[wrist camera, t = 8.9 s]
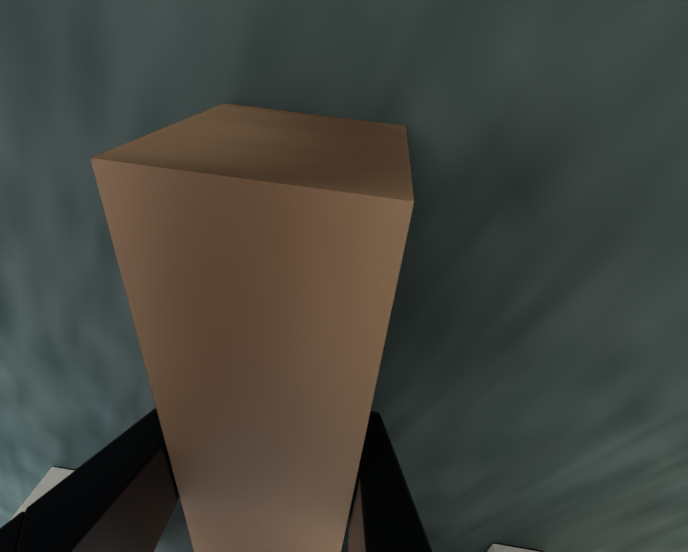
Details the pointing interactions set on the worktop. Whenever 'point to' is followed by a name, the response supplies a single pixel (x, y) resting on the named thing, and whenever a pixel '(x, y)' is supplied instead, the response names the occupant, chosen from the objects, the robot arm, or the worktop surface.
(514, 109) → the worktop surface
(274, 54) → the worktop surface
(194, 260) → the walnut bar
